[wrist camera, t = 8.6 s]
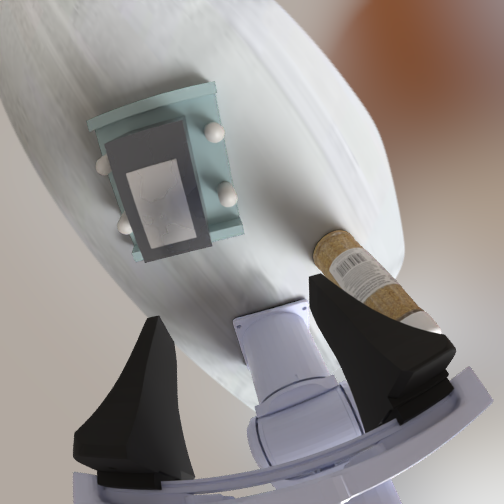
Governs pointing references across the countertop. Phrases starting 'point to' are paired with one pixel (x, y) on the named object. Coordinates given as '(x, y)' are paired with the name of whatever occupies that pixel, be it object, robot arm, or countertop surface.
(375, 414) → the robot arm
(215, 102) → the tray
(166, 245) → the dark grey block
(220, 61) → the countertop surface
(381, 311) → the sprinkles bottle
